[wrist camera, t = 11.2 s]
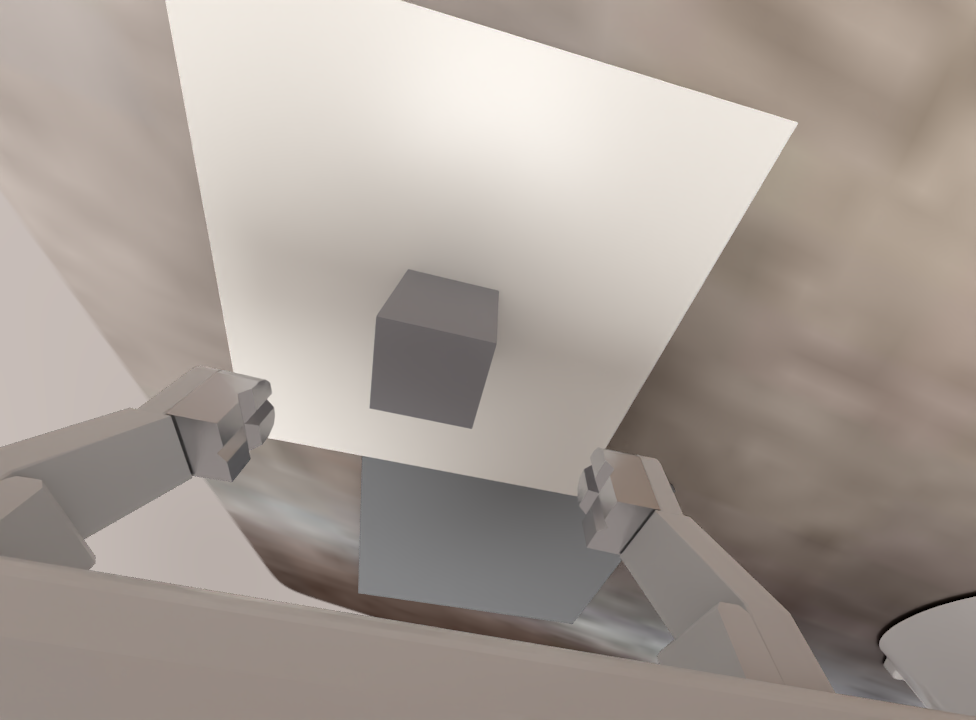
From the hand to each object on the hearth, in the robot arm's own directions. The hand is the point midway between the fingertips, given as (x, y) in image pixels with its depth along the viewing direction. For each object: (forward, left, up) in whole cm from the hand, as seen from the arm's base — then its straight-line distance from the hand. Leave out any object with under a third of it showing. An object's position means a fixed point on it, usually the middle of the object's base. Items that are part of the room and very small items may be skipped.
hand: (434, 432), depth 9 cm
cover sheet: (+1, 0, -7) cm, 7 cm away
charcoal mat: (-5, +20, -9) cm, 23 cm away
